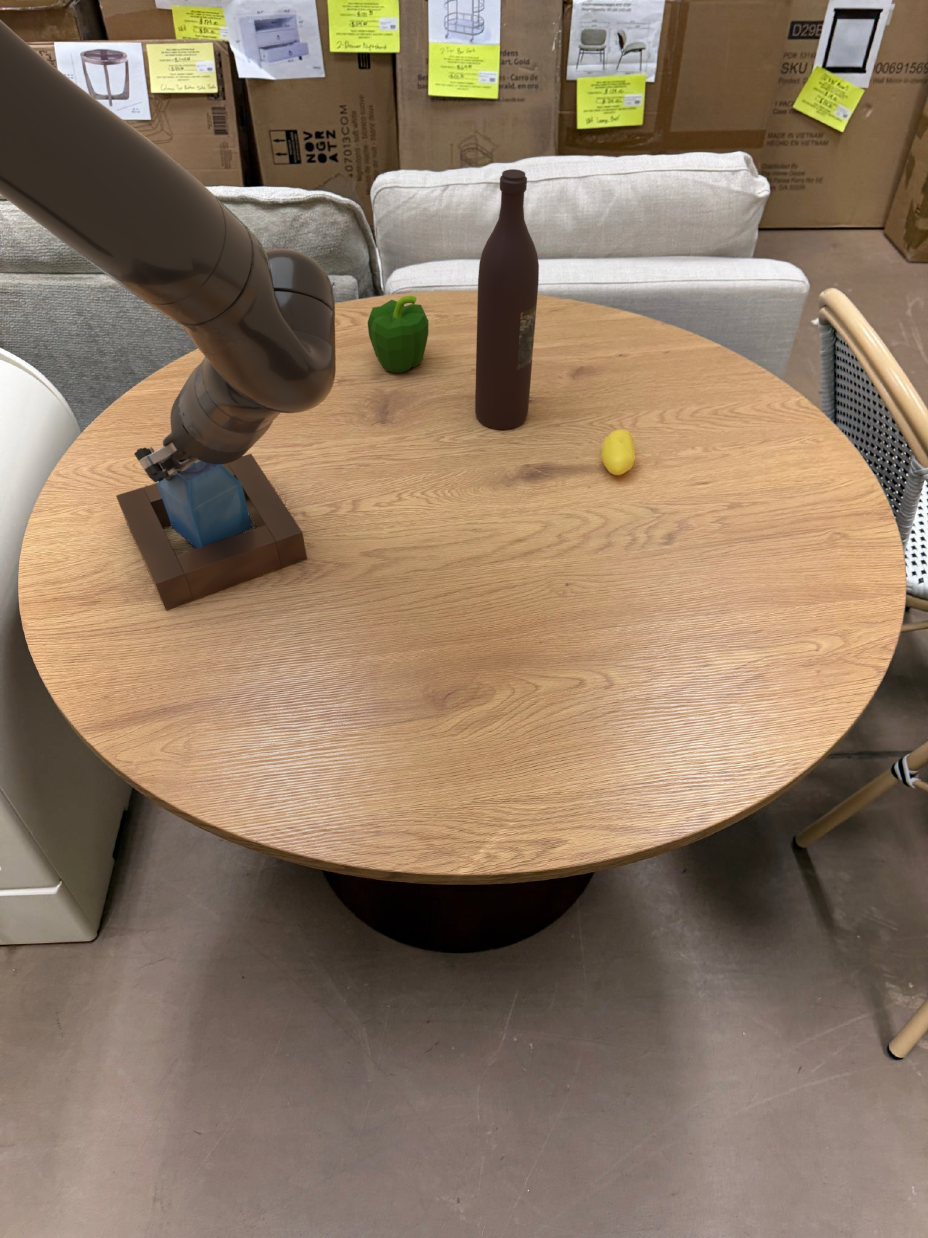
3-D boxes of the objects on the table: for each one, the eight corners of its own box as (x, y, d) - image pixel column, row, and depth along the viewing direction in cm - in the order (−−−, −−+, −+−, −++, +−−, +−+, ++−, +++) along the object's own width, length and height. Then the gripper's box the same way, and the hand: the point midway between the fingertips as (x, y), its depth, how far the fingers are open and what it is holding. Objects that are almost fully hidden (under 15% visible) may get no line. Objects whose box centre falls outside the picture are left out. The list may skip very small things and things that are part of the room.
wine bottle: (518, 435, 105) (536, 190, 83) (467, 424, 107) (471, 180, 85) (534, 406, 110) (555, 166, 87) (485, 396, 111) (493, 157, 89)
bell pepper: (362, 373, 115) (355, 306, 107) (382, 345, 120) (378, 278, 113) (418, 383, 113) (415, 316, 106) (436, 354, 118) (435, 287, 111)
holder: (165, 610, 84) (155, 583, 81) (126, 522, 93) (115, 495, 90) (307, 558, 90) (302, 531, 87) (257, 480, 99) (251, 453, 96)
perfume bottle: (252, 527, 90) (229, 436, 81) (204, 555, 87) (176, 464, 78) (219, 502, 93) (194, 412, 84) (172, 528, 90) (141, 437, 81)
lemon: (635, 447, 104) (640, 422, 101) (630, 486, 99) (635, 460, 96) (602, 443, 104) (607, 417, 101) (595, 481, 99) (599, 455, 96)
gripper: (268, 339, 73) (221, 402, 88) (125, 402, 66) (100, 459, 81) (313, 414, 74) (259, 463, 89) (177, 483, 68) (143, 524, 82)
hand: (184, 461), depth 85 cm, fingers closed on perfume bottle, 4 cm apart
